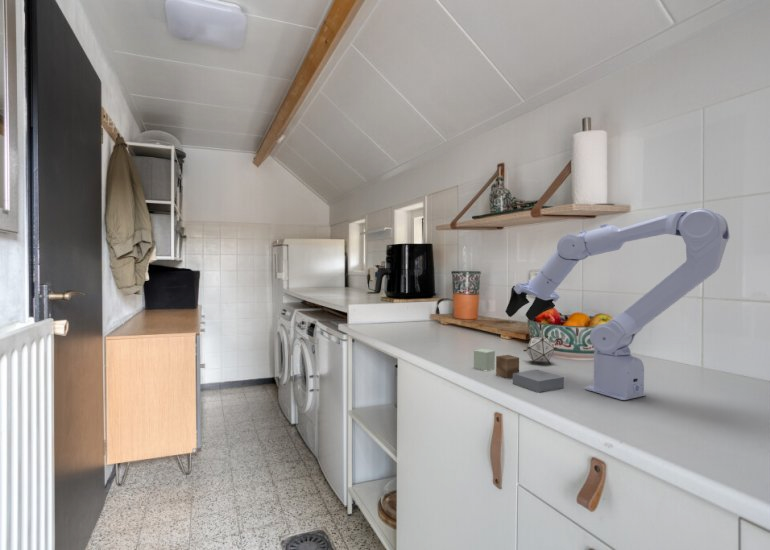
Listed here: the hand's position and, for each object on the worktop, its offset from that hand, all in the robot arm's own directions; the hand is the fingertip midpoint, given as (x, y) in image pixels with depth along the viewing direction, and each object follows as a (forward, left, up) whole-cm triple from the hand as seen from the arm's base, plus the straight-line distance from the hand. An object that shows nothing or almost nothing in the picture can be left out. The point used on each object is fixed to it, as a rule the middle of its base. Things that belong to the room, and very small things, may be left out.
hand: (518, 316), depth 112 cm
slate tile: (-11, +5, -15) cm, 19 cm away
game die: (+6, -14, -15) cm, 22 cm away
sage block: (+8, +5, -15) cm, 18 cm away
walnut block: (-1, +5, -15) cm, 16 cm away
